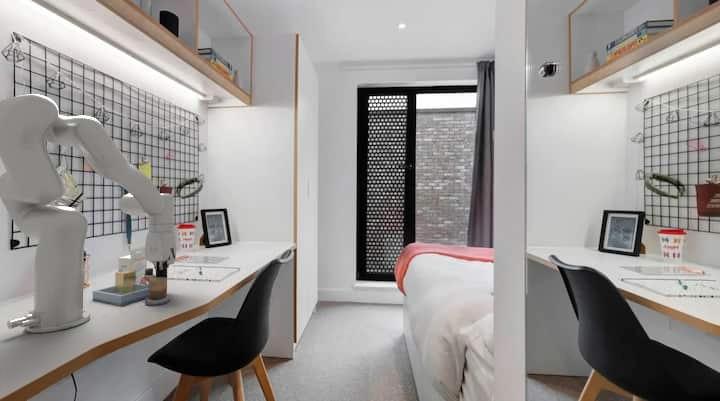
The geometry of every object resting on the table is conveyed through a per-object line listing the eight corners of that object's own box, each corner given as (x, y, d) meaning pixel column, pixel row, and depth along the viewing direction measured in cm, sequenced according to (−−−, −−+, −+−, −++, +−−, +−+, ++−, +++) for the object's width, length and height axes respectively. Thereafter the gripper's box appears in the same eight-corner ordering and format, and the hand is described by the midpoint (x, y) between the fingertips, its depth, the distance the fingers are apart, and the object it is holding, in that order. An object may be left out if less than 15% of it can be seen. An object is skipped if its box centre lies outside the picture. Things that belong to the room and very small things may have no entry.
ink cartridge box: (134, 282, 124) (135, 245, 124) (146, 283, 124) (147, 246, 123) (117, 289, 115) (117, 249, 115) (130, 289, 115) (131, 249, 115)
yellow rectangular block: (123, 297, 104) (123, 273, 104) (115, 296, 105) (115, 272, 105) (135, 294, 107) (135, 271, 107) (127, 292, 109) (127, 269, 109)
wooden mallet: (168, 296, 102) (168, 276, 102) (150, 300, 99) (150, 278, 99) (156, 285, 114) (156, 267, 114) (139, 288, 111) (140, 269, 111)
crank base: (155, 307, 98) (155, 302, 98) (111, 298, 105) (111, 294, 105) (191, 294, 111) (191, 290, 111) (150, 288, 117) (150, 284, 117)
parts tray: (120, 305, 99) (121, 296, 98) (92, 300, 103) (92, 291, 103) (155, 295, 109) (155, 286, 109) (128, 290, 114) (129, 282, 114)
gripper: (135, 228, 109) (136, 280, 110) (167, 230, 104) (167, 285, 105) (156, 226, 117) (156, 275, 117) (186, 228, 111) (186, 279, 112)
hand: (161, 279), depth 111 cm, fingers closed
